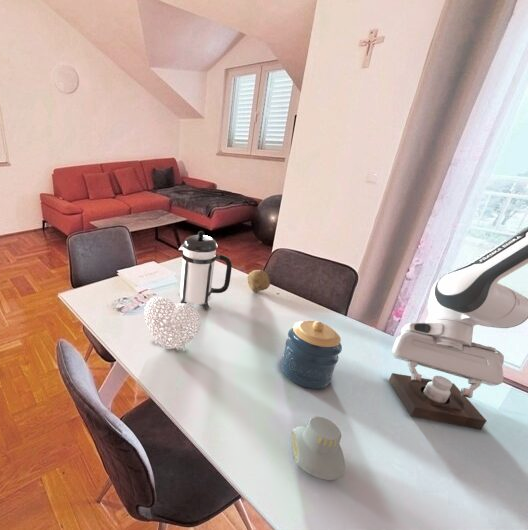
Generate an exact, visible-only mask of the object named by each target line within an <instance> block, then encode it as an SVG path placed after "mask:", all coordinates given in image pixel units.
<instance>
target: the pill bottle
mask: <svg viewBox="0 0 528 530" xmlns="http://www.w3.org/2000/svg"><path fill="white" fill-rule="evenodd" d="M431 380H432V382H428V383H427V385H426V387H425V389H424V391H423V394H424V395H425V396H426V397H427V398H429V399H431V400H433V401H435V402H438V403H442V404H445V403H446V401H447V399H448V398H449V396H450V394H451V392H450V389H451V387H452V383H453V382H452V381H451V380H450V379H448V378H446V377H444V376H442V375H434V376H433V378H431Z"/></svg>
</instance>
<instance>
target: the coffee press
mask: <svg viewBox="0 0 528 530" xmlns="http://www.w3.org/2000/svg"><path fill="white" fill-rule="evenodd" d="M217 250H218V244H217V241H216V240H215V239H214V238H213V237H211V236H208V235H205V231H203V230H200V231H198V232H197V234H194V235H189V236H187V237H186V238H185V239H184V240H183V242H182V244H181V245H180V247H178V251H181V252H182V253H181V254H182V255H181V257H182V262H181V263H182V264H181V277H180V287H179V289H180V290H179V296H180V298H181V301H180V302H179V303H184V304H189V305H197V306H198V305H199V306H200V305H202V306H203V308H204V310H208V309H209V308H210V305H209V301H210V299H211V295H212V294H222V293H224V292H226V291H227V290H228V288H229V286H230V282H231V275H232V267H233V266H232V261H231V259H230V258H229V257H228V256H226V255H224V254H217ZM216 260H220V261H223V262H225V264H226V271H225V279H224V282H223V286H221V287H220V288H214V287H212V285H213V279H214V277H213V276H214V271H215V269H214V268H215V263H216Z"/></svg>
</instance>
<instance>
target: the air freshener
mask: <svg viewBox="0 0 528 530" xmlns="http://www.w3.org/2000/svg"><path fill="white" fill-rule="evenodd" d="M341 439H342V433H341V430H340V428H339V427H338V426H337V424H335V423H334V422H333V421H331V420H329V419H328V418H325V417H324V416H323V417H322V416H312V417H310V418H309V419H308V421H307V424H306V425H300V426H296V427H295V428H293V429H292V430H291V432H290V444H291V453H292V455H293V459H294V462H295V463H296V465H297V466H298V467H299V468H300V469H301V470H303V471H304V472H306V473H307V474H309V475H310V476H312V477H315V478H317V479H321V480H324V481H333V480H338V479H339V478H341V477H343V476H344V475H345V473H346V463H345V457H344V453H343V449H342V447H341V445H340V442H341Z"/></svg>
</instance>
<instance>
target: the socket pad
mask: <svg viewBox="0 0 528 530" xmlns="http://www.w3.org/2000/svg"><path fill="white" fill-rule="evenodd" d="M411 376H412V375H407V374H400V373H395V372H392V373H391V375H390V376H389V379H388V383H389V384H390V386H391V388H392V389H393V391H394V392H395V394H396V395H397V397H398V398H399V400H400V402H401V403H402V405H403V406H404V408H405V409H406V411H407V413H408V414H409V415H410V417H415V418H418V419H424V420H429V421H435V422H440V423H444V424H451V425H455V426H461V427H465V428H471V429H474V430H475V429H476V430H482V429H483V428H484V426H485V425H486V423H487V421H488V420H487V419H486V418H485V417H484V416H483V415H482V413H481V412H480V411H479V410H478V409H477V408H476V407H475V406H474V405H473V403H472V402H471V401H470V400H469V398H468V397H465V396H461V389H460V388H459V387H458V386H457V385H456V384H455V383H453V382H452V387H451V389H450V392H451V394H450V396H449V398H448V399H447V401H446V403H445V404H442V403H438V402H435V401H433V400H431V399H429V398H427V397H426V396H425V395H424V394H423V391H424V389H425V387H426V385H427V383H428V382H432V378H431V379H430V378H424V377H421V382H416V381H413V380H411Z"/></svg>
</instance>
